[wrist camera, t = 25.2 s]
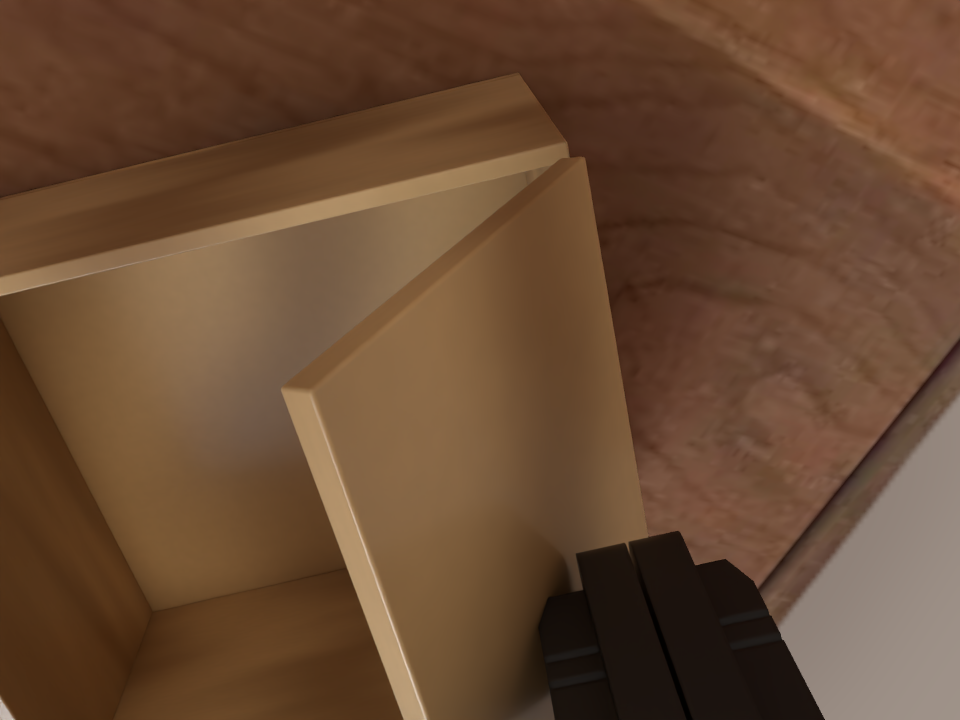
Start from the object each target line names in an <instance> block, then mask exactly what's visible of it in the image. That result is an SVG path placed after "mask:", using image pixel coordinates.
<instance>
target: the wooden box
mask: <svg viewBox="0 0 960 720" xmlns="http://www.w3.org/2000/svg"><path fill="white" fill-rule="evenodd" d="M561 158H570V155H569V149H568V143H567V142H566V140H565V139H564V137H563V136H562V134H561V133H560V132H559V130H558V129H557V127H556V126H555V124H554V123H553V122H552V120H551V119H550V117H549V116H548V114H547V113H546V112H545V110H544V109H543V107H542V106H541V104H540V103H539V101H538V100H537V99H536V97H535V96H534V94H533V93H532V91H531V90H530V89H529V87H528V86H527V84H526V83H525V81H524V80H523V79H522V77H521V76H520V74H519V73H514V74H510V75H505V76H501V77H497V78H493V79H489V80H485V81H481V82H476V83H472V84H468V85H464V86H460V87H456V88H452V89H448V90H443V91H439V92H435V93H431V94H427V95H423V96H419V97H414V98H410V99H406V100H402V101H398V102H394V103H390V104H385V105H381V106H377V107H373V108H369V109H365V110H361V111H357V112H352V113H348V114H344V115H340V116H336V117H332V118H328V119H323V120H319V121H315V122H311V123H307V124H303V125H299V126H295V127H290V128H286V129H282V130H278V131H274V132H270V133H266V134H261V135H257V136H253V137H249V138H245V139H241V140H237V141H232V142H228V143H224V144H220V145H216V146H212V147H208V148H204V149H199V150H195V151H191V152H187V153H183V154H179V155H175V156H170V157H166V158H162V159H158V160H154V161H150V162H146V163H142V164H137V165H133V166H129V167H125V168H121V169H117V170H113V171H108V172H104V173H100V174H96V175H92V176H88V177H84V178H79V179H75V180H71V181H67V182H63V183H59V184H55V185H51V186H46V187H42V188H38V189H34V190H30V191H26V192H22V193H17V194H13V195H9V196H5V197H1V198H0V720H404V719H403V717H402V714H401V711H400V709H399V706H398V703H397V701H396V698H395V695H394V693H393V690H392V687H391V685H390V682H389V679H388V677H387V674H386V671H385V668H384V666H383V663H382V660H381V658H380V655H379V652H378V650H377V647H376V644H375V642H374V639H373V636H372V634H371V631H370V628H369V626H368V623H367V620H366V618H365V615H364V612H363V609H362V607H361V604H360V601H359V599H358V596H357V593H356V591H355V588H354V585H353V583H352V580H351V577H350V575H349V572H348V569H347V567H346V564H345V561H344V559H343V556H342V553H341V550H340V548H339V545H338V542H337V540H336V537H335V534H334V532H333V529H332V526H331V524H330V521H329V518H328V516H327V513H326V510H325V508H324V505H323V502H322V500H321V497H320V494H319V492H318V489H317V486H316V483H315V481H314V478H313V475H312V473H311V470H310V467H309V465H308V462H307V459H306V457H305V454H304V451H303V449H302V446H301V443H300V441H299V438H298V435H297V433H296V430H295V427H294V424H293V422H292V419H291V416H290V414H289V411H288V408H287V406H286V403H285V400H284V398H283V395H282V392H281V388H282V386H283V385H284V384H285V383H287V382H288V381H289V380H290V379H291V378H293V377H294V376H295V375H296V374H298V373H299V372H300V371H301V370H302V369H304V368H305V367H306V366H307V365H309V364H310V363H311V362H312V361H313V360H315V359H316V358H317V357H318V356H320V355H321V354H322V353H323V352H324V351H326V350H327V349H328V348H329V347H331V346H332V345H333V344H334V343H335V342H337V341H338V340H339V339H340V338H342V337H343V336H344V335H345V334H346V333H348V332H349V331H350V330H351V329H353V328H354V327H355V326H356V325H357V324H359V323H360V322H361V321H362V320H364V319H365V318H366V317H367V316H368V315H370V314H371V313H372V312H373V311H375V310H376V309H377V308H378V307H379V306H381V305H382V304H383V303H384V302H386V301H387V300H388V299H389V298H391V297H392V296H393V295H394V294H395V293H397V292H398V291H399V290H400V289H402V288H403V287H404V286H405V285H406V284H408V283H409V282H410V281H411V280H413V279H414V278H415V277H416V276H417V275H419V274H420V273H421V272H422V271H424V270H425V269H426V268H427V267H428V266H430V265H431V264H432V263H433V262H435V261H436V260H437V259H438V258H439V257H441V256H442V255H443V254H444V253H446V252H447V251H448V250H449V249H450V248H452V247H453V246H454V245H455V244H457V243H458V242H459V241H460V240H461V239H463V238H464V237H465V236H466V235H468V234H469V233H470V232H471V231H472V230H474V229H475V228H476V227H477V226H479V225H480V224H481V223H482V222H483V221H485V220H486V219H487V218H488V217H490V216H491V215H492V214H493V213H495V212H496V211H497V210H498V209H499V208H501V207H502V206H503V205H504V204H506V203H507V202H508V201H509V200H510V199H512V198H513V197H514V196H515V195H517V194H518V193H519V192H520V191H521V190H523V189H524V188H525V187H526V186H528V185H529V184H530V183H531V182H532V181H534V180H535V179H536V178H537V177H539V176H540V175H541V174H542V173H543V172H545V171H546V170H547V169H548V168H550V167H551V166H552V165H553V164H554V163H556V162H557V161H558V160H559V159H561Z"/></svg>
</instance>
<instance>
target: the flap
mask: <svg viewBox="0 0 960 720" xmlns="http://www.w3.org/2000/svg"><path fill="white" fill-rule="evenodd" d="M281 392H282V395H283V398H284V400H285V403H286V406H287V408H288V411H289V414H290V416H291V419H292V422H293V424H294V427H295V430H296V433H297V435H298V438H299V441H300V443H301V446H302V449H303V451H304V454H305V457H306V459H307V462H308V465H309V467H310V470H311V473H312V475H313V478H314V481H315V483H316V486H317V489H318V492H319V494H320V497H321V500H322V502H323V505H324V508H325V510H326V513H327V516H328V518H329V521H330V524H331V526H332V529H333V532H334V534H335V537H336V540H337V542H338V545H339V548H340V550H341V553H342V556H343V559H344V561H345V564H346V567H347V569H348V572H349V575H350V577H351V580H352V583H353V585H354V588H355V591H356V593H357V596H358V599H359V601H360V604H361V607H362V609H363V612H364V615H365V618H366V620H367V623H368V626H369V628H370V631H371V634H372V636H373V639H374V642H375V644H376V647H377V650H378V652H379V655H380V658H381V660H382V663H383V666H384V668H385V671H386V674H387V677H388V679H389V682H390V685H391V687H392V690H393V693H394V695H395V698H396V701H397V703H398V706H399V709H400V711H401V714H402V717H403V719H404V720H555V718H554V712H553V707H552V701H551V696H550V689H549V684H548V679H547V674H546V668H545V662H544V657H543V651H542V646H541V640H540V635H539V629H538V626H539V623H540V620H541V617H542V614H543V611H544V608H545V605H546V602H547V599H548V597H553V596H558V595H562V594H567V593H572V592H576V591H581V590H583V587H582V583H581V578H580V573H579V569H578V564H577V559H576V553H579V552H584V551H589V550H593V549H598V548H602V547H607V546H611V545H616V544H621V543H625V544H626V546H627V549H628V551H629V546H628V542H629V541H633V540H638V539H643V538H647V537H648V531H647V525H646V519H645V513H644V507H643V501H642V495H641V489H640V483H639V477H638V471H637V465H636V459H635V453H634V447H633V441H632V435H631V429H630V423H629V417H628V411H627V405H626V399H625V393H624V387H623V381H622V376H621V370H620V364H619V358H618V352H617V346H616V340H615V334H614V328H613V322H612V316H611V310H610V304H609V298H608V292H607V286H606V280H605V274H604V268H603V262H602V256H601V250H600V244H599V238H598V232H597V226H596V220H595V214H594V208H593V202H592V196H591V190H590V184H589V178H588V172H587V166H586V160H585V158H584V157H573V158H561V159H559V160H558V161H557V162H556V163H554V164H553V165H552V166H551V167H550V168H548V169H547V170H546V171H545V172H543V173H542V174H541V175H540V176H539V177H537V178H536V179H535V180H534V181H532V182H531V183H530V184H529V185H528V186H526V187H525V188H524V189H523V190H521V191H520V192H519V193H518V194H517V195H515V196H514V197H513V198H512V199H510V200H509V201H508V202H507V203H506V204H504V205H503V206H502V207H501V208H499V209H498V210H497V211H496V212H495V213H493V214H492V215H491V216H490V217H488V218H487V219H486V220H485V221H483V222H482V223H481V224H480V225H479V226H477V227H476V228H475V229H474V230H472V231H471V232H470V233H469V234H468V235H466V236H465V237H464V238H463V239H461V240H460V241H459V242H458V243H457V244H455V245H454V246H453V247H452V248H450V249H449V250H448V251H447V252H446V253H444V254H443V255H442V256H441V257H439V258H438V259H437V260H436V261H435V262H433V263H432V264H431V265H430V266H428V267H427V268H426V269H425V270H424V271H422V272H421V273H420V274H419V275H417V276H416V277H415V278H414V279H413V280H411V281H410V282H409V283H408V284H406V285H405V286H404V287H403V288H402V289H400V290H399V291H398V292H397V293H395V294H394V295H393V296H392V297H391V298H389V299H388V300H387V301H386V302H384V303H383V304H382V305H381V306H379V307H378V308H377V309H376V310H375V311H373V312H372V313H371V314H370V315H368V316H367V317H366V318H365V319H364V320H362V321H361V322H360V323H359V324H357V325H356V326H355V327H354V328H353V329H351V330H350V331H349V332H348V333H346V334H345V335H344V336H343V337H342V338H340V339H339V340H338V341H337V342H335V343H334V344H333V345H332V346H331V347H329V348H328V349H327V350H326V351H324V352H323V353H322V354H321V355H320V356H318V357H317V358H316V359H315V360H313V361H312V362H311V363H310V364H309V365H307V366H306V367H305V368H304V369H302V370H301V371H300V372H299V373H298V374H296V375H295V376H294V377H293V378H291V379H290V380H289V381H288V382H287V383H285V384H284V385H283V386H282V388H281ZM629 554H630V553H629Z"/></svg>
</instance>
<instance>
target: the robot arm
mask: <svg viewBox="0 0 960 720" xmlns="http://www.w3.org/2000/svg"><path fill="white" fill-rule="evenodd" d="M628 546H629V551H628V549H627V546H626V544H625V543H621V544H616V545H611V546H607V547H602V548H598V549H593V550H589V551H584V552H579V553H576V559H577V564H578V569H579V573H580V578H581V583H582V587H583V590H581V591H576V592H572V593H567V594H562V595H558V596H553V597H548V599H547V602H546V605H545V608H544V611H543V614H542V617H541V620H540V623H539V626H538V629H539V635H540V640H541V646H542V651H543V657H544V662H545V668H546V674H547V679H548V684H549V689H550V696H551V701H552V707H553V712H554V718H555V720H825V719H824V717H823V715H822V713H821V711H820V710H819V707H818V706H817V704H816V702H815V700H814V698H813V696H812V694H811V692H810V690H809V688H808V686H807V685H806V682H805V680H804V678H803V677H802V675H801V673H800V671H799V669H798V667H797V665H796V663H795V661H794V659H793V657H792V655H791V653H790V651H789V650H788V647H787V646H786V643H785V642H784V640H782V638H781V634H780V632H779V630H778V628H777V626H776V624H775V622H774V620H773V618H772V616H770V615H769V612H768V609H767V607H766V605H765V603H764V601H763V599H762V597H761V595H760V593H759V591H758V589H757V587H756V585H755V583H754V581H753V580H751V579H750V578H749V577H748V576H746V575H745V574H744V573H743V572H741V571H740V570H739V569H738V568H736V567H735V566H734V565H733V564H731V563H730V562H729V561H727V560H726V559H723V560H718V561H714V562H709V563H704V564H700V565H695V564H694V562H693V560H692V558H691V555H690V553H689V551H688V548H687V546H686V544H685V542H684V539H683V537H682V535H681V533H680V532H679V531H675V532H670V533H665V534H661V535H656V536H652V537H647V538H643V539H638V540H633V541H629V542H628ZM629 553H630V554H629Z"/></svg>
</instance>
